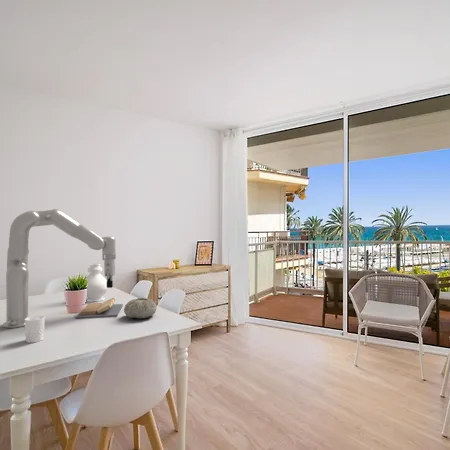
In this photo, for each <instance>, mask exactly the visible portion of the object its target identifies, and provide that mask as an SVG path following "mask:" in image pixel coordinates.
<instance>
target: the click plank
mask: <svg viewBox="0 0 450 450" xmlns="http://www.w3.org/2000/svg"><path fill="white" fill-rule="evenodd" d="M116 300H117V299H116V297H115V296H114V297H112V298H110V299H108V300H106V301H104V302H101V303H102V305H101V306H100V307H99V309H98V310H97V312H98V314H99V313H101V312H103V311H105V310H107V309H109V308H111V307H112V305H113V304H114V303H115V302H116Z"/></svg>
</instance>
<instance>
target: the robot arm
mask: <svg viewBox="0 0 450 450" xmlns="http://www.w3.org/2000/svg"><path fill="white" fill-rule="evenodd" d="M51 225H53V226H54V227H56V228H57V229H59V230H61V231H62V232H64V233H65V234H66V235H68V236H70V237H71V238H75V239H77V240H79V241H81V242H83V243H84V244H85V245H87V246H88V248H89V249H91V250H95V251H100V250H102V251H101V253H102V254H101V255H102V256H101V257H102V258H101V259H102V261H103V262H104V263H103V264H104V266H103V269H104V270H103V271H104V277H105V278H106V280H107V288H108V289H109V288H110V289H112V288H113V287H114V285H113V277H114V276H115V275H116V265H115V264H116V263H115V262H116V261H115V260H116V257H117V255H116V253H117V252H116V238H115V237H114V236H102V237H101V236H99V235H97V234H96V233H95V232H93V231H92V230H90V229H88V228H87V227H86V226H84V225H83V224H81V223H80V222H78V221H77V220H75V219H74V218H72V217H71V216H69V215H68V214H66V213H65V212H63V211H61V210H60V209H57V208H53V209H49V210H48V209H47V210H40V211H39V210H37V211H36V210H29V211H25V212H23V213H20V214H19V215H18V216H16V217H15V218H14V219H13V221H12V223H11V224H10V230H9V237H8V248H7V252H6V255H7V257H6V273H5V277H6V278H5V281H6V282H5V283H6V285H5V287H6V293H5V294H6V300H5V301H6V302H5V303H6V307H5V308H6V310H5V311H6V313H5V314H6V315H5V316H6V318H5V319H6V321H5V322H3V323H2V328H4V329H5V328H6V329H14V328H21V327H25V318H28V317H29V269H28V266H29V265H28V260H29V251H30V250H29V237H30V231H31V228H34V227H43V226H51Z"/></svg>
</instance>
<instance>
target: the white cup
mask: <svg viewBox="0 0 450 450" xmlns="http://www.w3.org/2000/svg"><path fill="white" fill-rule="evenodd" d="M45 320H46V316H45V315H34V316H33V315H32V316H28V318H25V326H24V332H25V333H24V334H25V342H26V343H29V344H31V343H32V344H33V343H34V344H35V343H38V342H41V341H43V340H44V337H45V336H44V335H45V322H46V321H45Z"/></svg>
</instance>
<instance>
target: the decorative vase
mask: <svg viewBox="0 0 450 450" xmlns="http://www.w3.org/2000/svg"><path fill="white" fill-rule="evenodd" d="M88 264H89V267H88V269H87V272H88V273H89V274H88V275H87V276H86V278H87V279H88V286H87V296H86V297H87V298H86V299H87V301H86V302H89V303H97V302H101V301H104V300H105V299H106V298H105V296H104V295H105V294H106V292H108V290H109V288H107V278H106V277H105V276H103V274H102V271H103V268H102V267H101V262H96V263H88Z"/></svg>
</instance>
